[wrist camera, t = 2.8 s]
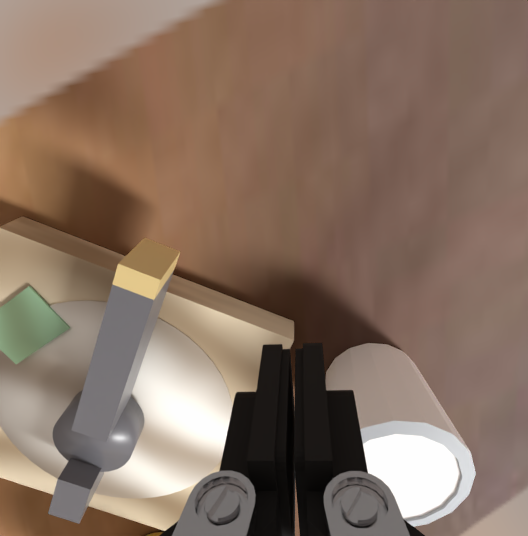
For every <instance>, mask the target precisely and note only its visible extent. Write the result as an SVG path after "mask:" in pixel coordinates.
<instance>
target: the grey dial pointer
mask: <svg viewBox="0 0 528 536" xmlns="http://www.w3.org/2000/svg"><path fill="white" fill-rule="evenodd" d="M179 254H180V251H177V250H175V249H172V248H170V247H167V246H165V245H162V244H160V243H157V242H155V241H152V240H150V239H147V238H144V239H143V240H142V241H141V242H140V243H139V244H138V245H137V246H136V247H135V248H133V249H132V250H131V251H130V252H129V253H128V254H127V255H126V256H125V257H124V258H123V259H122V260H121V261H120V262H119V263H118V266H117V269H116V273H115V277H114V280H113V284H112V288H111V291H110V295H109V298H108V302H107V305H106V309H105V313H104V316H103V320H102V323H101V327H100V330H99V334H98V338H97V341H96V345H95V348H94V352H93V355H92V359H91V362H90V366H89V370H88V373H87V377H86V380H85V384H84V387H83V390H82V391H80V392H79V393H78V394H77V395H76V396H75V397H74V398H73V400H72V401H71V402H70V404H69V405H68V407H67V408H66V409H65V411H64V412H63V414H62V415H61V416H60V418H59V419H58V421H57V422H56V424H55V425H54V428H53V441H54V444H55V446H56V448H57V450H58V451H59V453H60V454H61V455H62V456H63V457H64V458H65V459H66V460H68V463H67V465H66V466H65V468H64V469H63V471H62V473H61V474H60V476H59V478H58V480H57V483H56V487H55V491H54V494H53V498H52V501H51V505H50V508H49V512H48V514H50V515H53V516H56V517H59V518H63V519H66V520H69V521H72V522H75V523H78V524H79V523H80V521H81V519H82V517H83V515H84V513H85V511H86V509H87V507H88V505H89V503H90V501H91V499H92V497H93V495H94V493H95V491H96V489H97V487H98V485H99V483H100V481H101V479H102V477H103V475H104V472H109V471H113V470H116V469H119V468H121V467H122V466H124V465H125V464H126V463H127V462H128V461H129V459H130V457H131V455H132V453H133V451H134V448H135V446H136V444H137V441H138V439H139V437H140V435H141V432H142V430H143V428H144V422H145V420H144V414H143V411H142V409H141V408H140V406H139V405H138V403H137V402H136V401H135V400H134V399H133V398H132V397H131V393H132V391H133V388H134V385H135V382H136V379H137V376H138V373H139V370H140V367H141V364H142V362H143V359H144V356H145V353H146V350H147V347H148V344H149V341H150V338H151V335H152V333H153V330H154V327H155V324H156V321H157V318H158V315H159V312H160V309H161V306H162V304H163V301H164V298H165V295H166V292H167V289H168V286H169V283H170V280H171V277H172V275H173V272H174V269H175V266H176V263H177V260H178V257H179Z"/></svg>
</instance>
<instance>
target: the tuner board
mask: <svg viewBox="0 0 528 536" xmlns="http://www.w3.org/2000/svg"><path fill="white" fill-rule="evenodd" d="M124 257H125V256H124V255H122V254H119V253H116V252H114V251H111V250H109V249H106V248H103V247H101V246H98V245H96V244H93V243H91V242H88V241H85V240H83V239H80V238H78V237H75V236H72V235H70V234H67V233H65V232H62V231H60V230H57V229H54V228H52V227H49V226H47V225H44V224H41V223H39V222H36V221H34V220H31V219H29V218H26V217H23V216H22V217H20V218H17V219H15V220H13V221H11V222H9V223H7V224H4V225H2V226H0V478H3V479H6V480H9V481H12V482H15V483H18V484H22V485H25V486H28V487H31V488H34V489H37V490H40V491H43V492H46V493H49V494H52V495H53V494H54V491H55V487H56V483H57V480H58V478H59V476H60V474H61V473H62V471H63V469H64V468H65V466H66V465H67V463H68V460H66V459H65V458H64V457H63V456H62V455H61V454H60V453H59V451H58V450H57V448H56V446H55V444H54V441H53V428H54V425H55V424H56V422H57V421H58V419H59V418H60V416H61V415H62V414H63V412H64V411H65V409H66V408H67V407H68V405H69V404H70V402H71V401H72V400H73V398H74V397H75V396H76V395H77V394H78V393H79V392H80V391H82V390H83V387H84V384H85V380H86V377H87V373H88V370H89V366H90V362H91V359H92V355H93V352H94V348H95V345H96V341H97V338H98V334H99V330H100V327H101V323H102V320H103V316H104V313H105V309H106V305H107V302H108V298H109V295H110V291H111V288H112V284H113V280H114V277H115V273H116V269H117V266H118V263H119V262H120V261H121V260H122V259H123V258H124ZM293 342H294V321H292V320H289V319H287V318H284V317H282V316H279V315H277V314H274V313H271V312H269V311H266V310H264V309H261V308H258V307H256V306H253V305H251V304H248V303H246V302H243V301H240V300H238V299H235V298H233V297H230V296H227V295H225V294H222V293H220V292H217V291H215V290H212V289H209V288H207V287H204V286H202V285H199V284H196V283H194V282H191V281H189V280H186V279H184V278H181V277H178V276H176V275H172V277H171V280H170V283H169V286H168V289H167V292H166V295H165V298H164V301H163V304H162V306H161V309H160V312H159V315H158V318H157V321H156V324H155V327H154V330H153V333H152V335H151V338H150V341H149V344H148V347H147V350H146V353H145V356H144V359H143V362H142V364H141V367H140V370H139V373H138V376H137V379H136V382H135V385H134V388H133V391H132V393H131V397H132V398H133V399H134V400H135V401H136V402H137V403H138V405H139V406H140V408H141V409H142V411H143V414H144V420H145V422H144V428H143V430H142V432H141V435H140V437H139V439H138V441H137V444H136V446H135V448H134V451H133V453H132V455H131V457H130V459H129V461H128V462H127V463H126V464H125V465H124V466H122V467H121V468H119V469H116V470H113V471H109V472H104V475H103V477H102V479H101V481H100V483H99V485H98V487H97V489H96V491H95V493H94V495H93V497H92V499H91V501H90V503H89V505H88V506H89V507H92V508H95V509H98V510H102V511H105V512H108V513H111V514H114V515H117V516H120V517H123V518H126V519H129V520H132V521H135V522H138V523H142V524H145V525H148V526H151V527H154V528H157V529H160V530H163V531H166V530H167V529H168V528H170V527H171V526H172V525H174V524H175V523H176V522H177V521H179V518H180V516H181V514H182V511H183V509H184V507H185V504H186V502H187V500H188V497H189V495H190V493H191V492H192V490H193V488H194V487H195V485H196V484H197V483H198V482H199V481H201V480H202V479H203V478H204V477H206V476H208V475H210V474H212V473H215V472H219V470H220V465H221V461H222V456H223V451H224V446H225V441H226V436H227V432H228V427H229V422H230V417H231V412H232V407H233V403H234V398H235V394H236V393H237V392H256V390H257V383H258V376H259V369H260V362H261V355H262V348H263V345H268V344H282V346H283V349H290V347H291V345H292V344H293Z"/></svg>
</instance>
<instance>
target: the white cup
mask: <svg viewBox="0 0 528 536" xmlns="http://www.w3.org/2000/svg"><path fill="white" fill-rule="evenodd" d="M325 382H326V390H353V392H354V397H355V402H356V408H357V414H358V419H359V425H360V431H361V436H362V442H363V448H364V453H365V459H366V465H367V470H368V473H369V474H372V475H374V476H376V477H377V478H379V479H381V480H382V481H383V482H384V483H385V484H386V485H387V486H388V487H389V488H390V490H391V492H392V493H393V495H394V497H395V499H396V502H397V504H398V507H399V509H400V512H401V514H402V517H403V519H404V520H405V521H407V522H408V523H409V524H411V525H412V526H413V527H414V526H419V525H425V524H429V523H431V522H433V521H435V520H437V519H439V518H441V517H443V516H445V515H447V514H449V513H451V512H453V511H454V509H455V508H456V507H457V506H458V505H459V504H460V503H461V502H462V501H463V500H464V499H465V498H466V497H467V496H468V495H469V493H470V490H471V487H472V484H473V481H474V478H475V475H476V472H475V468H474V464H473V460H472V456H471V452H470V451H469V449H468V447H467V446H466V444H465V443H464V441H463V439H462V438H461V436H460V435H459V433H458V432H457V430H456V428H455V427H454V425H453V424H452V422H451V420H450V419H449V417H448V416H447V414H446V412H445V411H444V409H443V408H442V406H441V405H440V403H439V401H438V400H437V398H436V397H435V395H434V393H433V392H432V390H431V389H430V387H429V386H428V384H427V382H426V381H425V379H424V378H423V376H422V374H421V373H420V371H419V370H418V368H417V366H416V365H415V363H414V362H413V361H412V360H411V359H410V358H409V357H408V356H407V355H406V354H405V353H404V352H403V351H401V350H399V349H397V348H395V347H392V346H390V345H388V344H376V343H366V344H362V345H359V346H355V347H351V348H349V349H347V350H346V351H345V352H343V353H342V354H340V355H339V356H337V357H336V358H335V359H334V361H333V362H332V364H331V365H330V367H329V368H328V370H327V371H326V380H325Z"/></svg>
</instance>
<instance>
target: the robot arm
mask: <svg viewBox="0 0 528 536" xmlns="http://www.w3.org/2000/svg"><path fill="white" fill-rule="evenodd" d="M295 478H296V490H297V503H298V515H299V528H300V536H425V535H423V534H422V533H421V532H420V531H418V530H417V529H416V528H414V527H413V526H412V525H411V524H409V523H408V522H407V521H405V520H404V519H403V517H402V514H401V512H400V509H399V507H398V504H397V502H396V499H395V497H394V495H393V493H392V492H391V490H390V488H389V487H388V486H387V485H386V484H385V483H384V482H383V481H382V480H381V479H379V478H377V477H376V476H374V475H372V474H369V473H368V470H367V465H366V459H365V453H364V448H363V442H362V436H361V431H360V425H359V419H358V414H357V408H356V402H355V397H354V392H353V390H326V382H325V371H324V359H323V348H322V343H303V349H296V357H295V410H294V397H293V383H292V370H291V357H290V349H283V346H282V344H268V345H263V348H262V355H261V362H260V369H259V376H258V383H257V390H256V392H237V393H236V394H235V398H234V403H233V407H232V412H231V417H230V422H229V427H228V432H227V436H226V441H225V446H224V451H223V456H222V461H221V465H220V470H219V472H215V473H212V474H210V475H208V476H206V477H204V478H203V479H202V480H201V481H199V482H198V483H197V484H196V485H195V487H194V488H193V490H192V492H191V493H190V495H189V497H188V500H187V502H186V504H185V507H184V509H183V511H182V514H181V516H180V518H179V521H177V522H176V523H175V524H174V525H172V526H171V527H170V528H168V529H167V530H166V531H164V532H163V533H162V534H160V535H159V536H295Z"/></svg>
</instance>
